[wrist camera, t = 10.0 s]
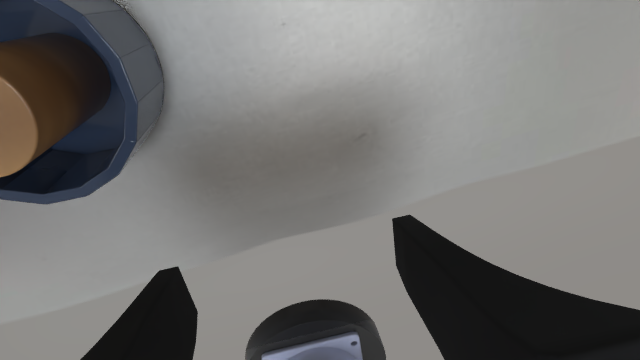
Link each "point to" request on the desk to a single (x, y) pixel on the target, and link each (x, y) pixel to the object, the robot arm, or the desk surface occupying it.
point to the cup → (107, 124)
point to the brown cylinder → (45, 94)
